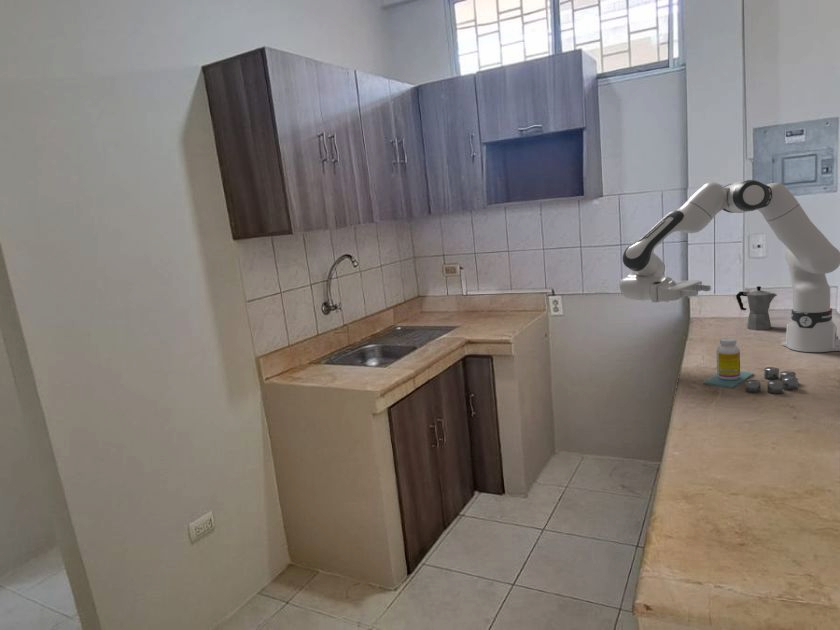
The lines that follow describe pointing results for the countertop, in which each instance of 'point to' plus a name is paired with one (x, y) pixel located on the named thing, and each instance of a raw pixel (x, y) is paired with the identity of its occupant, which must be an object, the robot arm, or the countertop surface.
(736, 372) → the supplement bottle
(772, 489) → the countertop surface
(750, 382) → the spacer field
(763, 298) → the coffeepot
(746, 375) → the mat
